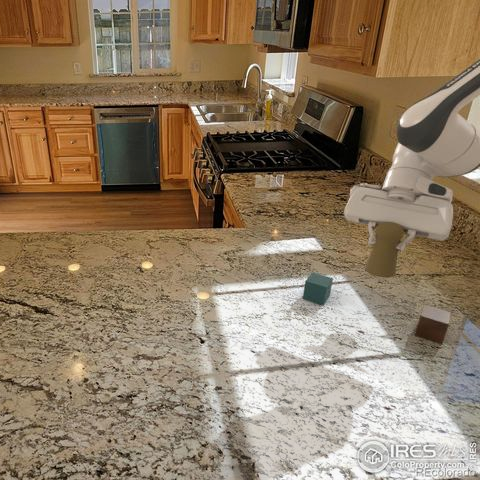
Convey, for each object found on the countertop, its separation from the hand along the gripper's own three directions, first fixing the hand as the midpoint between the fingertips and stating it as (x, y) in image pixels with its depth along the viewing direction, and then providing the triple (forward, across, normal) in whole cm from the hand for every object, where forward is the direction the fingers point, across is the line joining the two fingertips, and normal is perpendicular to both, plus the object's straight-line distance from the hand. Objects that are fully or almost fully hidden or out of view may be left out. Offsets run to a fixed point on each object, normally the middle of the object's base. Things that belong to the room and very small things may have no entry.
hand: (385, 247), depth 89 cm
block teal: (+12, -12, +12) cm, 21 cm away
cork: (+4, 0, +5) cm, 6 cm away
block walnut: (+12, +12, +12) cm, 21 cm away
